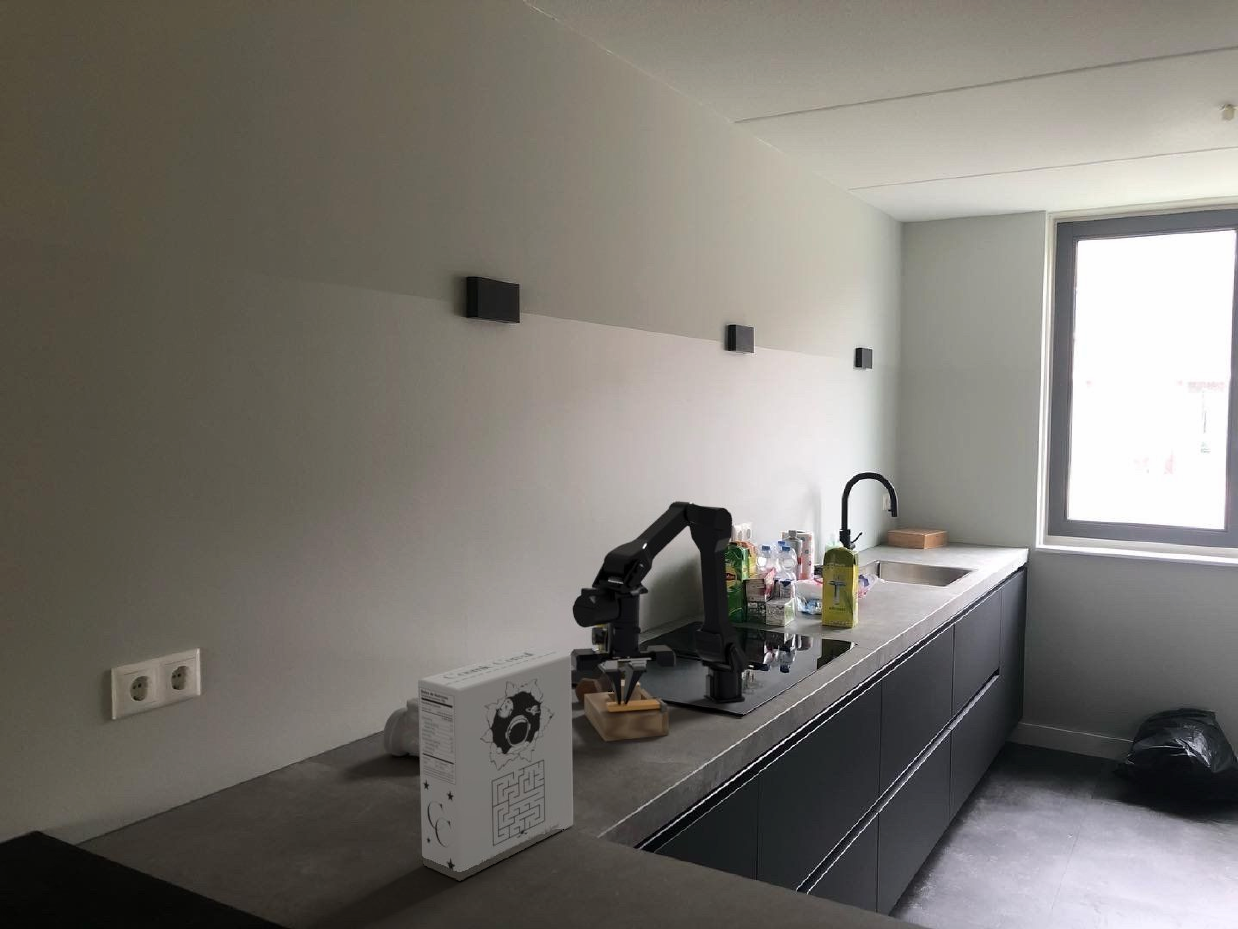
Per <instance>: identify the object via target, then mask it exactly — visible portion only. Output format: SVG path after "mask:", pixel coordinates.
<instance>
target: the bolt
mask: <svg viewBox="0 0 1238 929" xmlns="http://www.w3.org/2000/svg"><path fill="white" fill-rule="evenodd" d="M625 674H626V673H624V671H623V672H622V671H621V680H625ZM608 691H612V692H613V688H612V685H611V682H610V679H609V677H608V675H607V674H604V672H603V671H602V673H601V675H600V677H599V678H596V679H594V678H587V677H583V678H581V679H580V680H579V681H578V682H577V684H576V687H575V689H574V693H575V696H576V699H577V701H578V702H579V704H581V705H584V694H592V693H603V692H608Z"/></svg>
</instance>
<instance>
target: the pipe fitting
mask: <svg viewBox="0 0 1238 929" xmlns="http://www.w3.org/2000/svg"><path fill="white" fill-rule="evenodd" d="M381 738H382V739H381V742H382V747H383V749H384V751H385V752H386V753H388V754H391V755H393V756H396V757H402V756H405V755H408V754H411V755H414V756H417V757H419V758H420V743H419V701H418V697H410V698H407V700H406V707H401V708H398V709H397V710H394V711H393V712H392V713H391V714H390V716H389V717H388V718H387V720H386V722H385V724H384V728H383V731H382V737H381Z"/></svg>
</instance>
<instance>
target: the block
mask: <svg viewBox="0 0 1238 929" xmlns="http://www.w3.org/2000/svg"><path fill="white" fill-rule="evenodd" d="M656 698H660V696H659V695H655V696H651V695H650V693H649V692H648V691H646V690H645V689H644V688H641V700H651V699H656ZM660 699H661V698H660ZM606 702H615V694H614V692H603V693H592V694H584V704H583V705H584V716H585V717H586V718H587V719H588V721H589V722H590V724H591V725H592V727H594V728H595V730H596V731H597V733H598V735H600V737H601V738H602V740H604V742H609V741H610V742H611V741H619V740H620V741H623V740H629V739H641V738H650V737H658V736H659V737H660V736H668V735H670V734H669V732H670V731H669V730H670V729H669V726H670V724H669V721H670V720H669V718H670V717H669V712H668V703H666V702H664V703H661V708H656V709H641V710H627V711H613V712H610V711H609V710H608V709H607V708H606Z"/></svg>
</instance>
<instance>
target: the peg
mask: <svg viewBox="0 0 1238 929" xmlns="http://www.w3.org/2000/svg"><path fill="white" fill-rule="evenodd" d="M624 685H625V680H621V693H622V699H621V701H624ZM641 689H642V684H641V683H640V682H639V681H638V682H637V684H636V686H635V688H634V690H633V692H632V695H631V697H630V699H629V701H636V700H641ZM615 702H617V701H616V698H615Z"/></svg>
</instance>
